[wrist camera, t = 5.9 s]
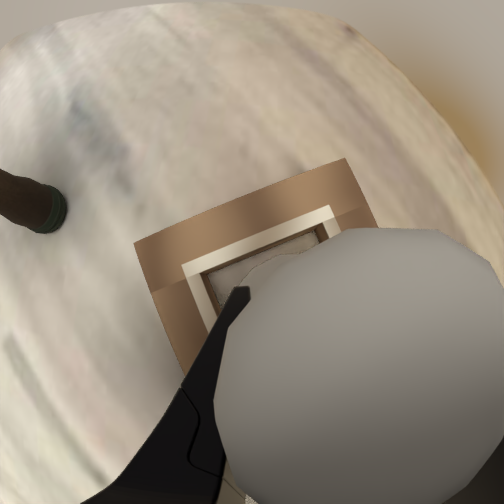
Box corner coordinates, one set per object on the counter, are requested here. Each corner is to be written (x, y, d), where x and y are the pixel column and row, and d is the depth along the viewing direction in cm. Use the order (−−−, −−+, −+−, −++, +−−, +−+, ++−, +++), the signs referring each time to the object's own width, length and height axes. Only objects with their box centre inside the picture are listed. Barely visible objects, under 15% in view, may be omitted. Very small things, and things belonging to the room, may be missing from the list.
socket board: (226, 433, 19) (222, 451, 16) (147, 248, 20) (132, 242, 18) (409, 354, 19) (427, 362, 17) (335, 171, 21) (345, 156, 18)
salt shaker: (232, 373, 15) (158, 585, 2) (231, 260, 16) (117, 136, 3) (346, 369, 15) (521, 515, 2) (346, 258, 15) (561, 169, 3)
